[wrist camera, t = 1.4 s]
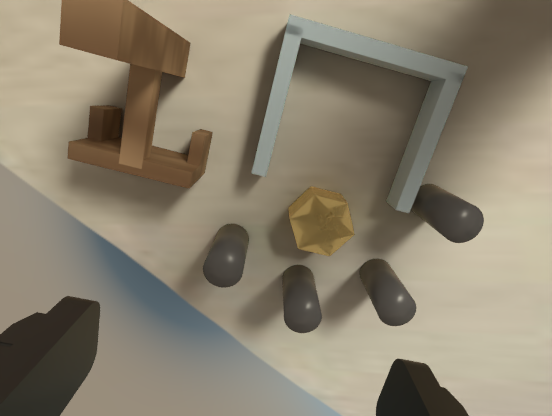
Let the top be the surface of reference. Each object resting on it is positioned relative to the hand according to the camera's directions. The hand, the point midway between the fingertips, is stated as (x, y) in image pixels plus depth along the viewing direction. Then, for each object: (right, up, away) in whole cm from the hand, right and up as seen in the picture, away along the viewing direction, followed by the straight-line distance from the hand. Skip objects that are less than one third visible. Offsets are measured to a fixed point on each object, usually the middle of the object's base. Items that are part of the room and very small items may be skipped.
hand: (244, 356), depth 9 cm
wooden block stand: (-8, +13, +18) cm, 24 cm away
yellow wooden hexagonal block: (+5, +3, +21) cm, 22 cm away
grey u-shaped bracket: (+7, +11, +19) cm, 23 cm away
